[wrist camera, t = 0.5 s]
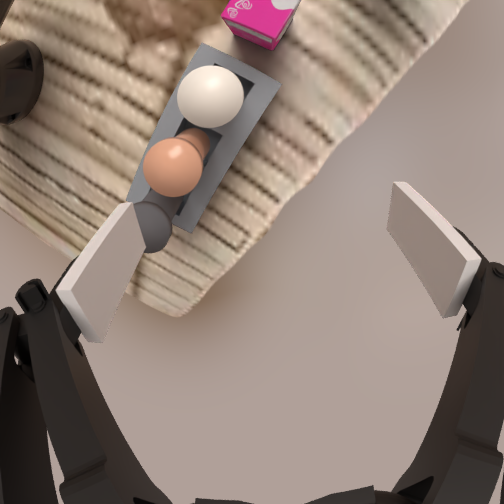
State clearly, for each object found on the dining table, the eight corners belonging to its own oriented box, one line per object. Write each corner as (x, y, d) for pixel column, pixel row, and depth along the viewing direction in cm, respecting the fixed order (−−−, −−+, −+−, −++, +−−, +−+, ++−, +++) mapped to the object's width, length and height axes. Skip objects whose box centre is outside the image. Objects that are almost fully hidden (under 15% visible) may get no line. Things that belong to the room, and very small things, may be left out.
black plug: (143, 201, 35) (114, 239, 27) (158, 166, 33) (128, 197, 25) (178, 219, 36) (158, 261, 29) (195, 185, 34) (177, 222, 26)
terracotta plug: (164, 154, 32) (134, 181, 24) (183, 115, 29) (156, 129, 21) (202, 173, 33) (185, 206, 25) (223, 135, 31) (211, 157, 23)
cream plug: (190, 101, 28) (166, 111, 21) (213, 61, 26) (196, 55, 18) (231, 122, 30) (222, 138, 22) (256, 83, 27) (255, 84, 19)
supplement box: (251, -1, 26) (249, -30, 16) (293, 18, 27) (308, -5, 18) (230, 33, 29) (219, 16, 19) (272, 52, 30) (278, 41, 21)
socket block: (141, 183, 40) (125, 200, 36) (210, 47, 30) (201, 42, 25) (199, 213, 43) (191, 233, 38) (278, 83, 32) (282, 84, 28)
